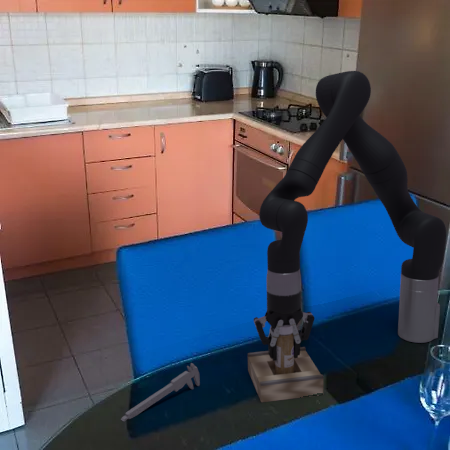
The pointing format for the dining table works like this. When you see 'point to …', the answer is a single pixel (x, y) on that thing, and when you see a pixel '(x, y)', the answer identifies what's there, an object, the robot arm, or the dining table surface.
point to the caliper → (166, 391)
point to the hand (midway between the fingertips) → (284, 357)
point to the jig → (284, 377)
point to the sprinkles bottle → (285, 351)
